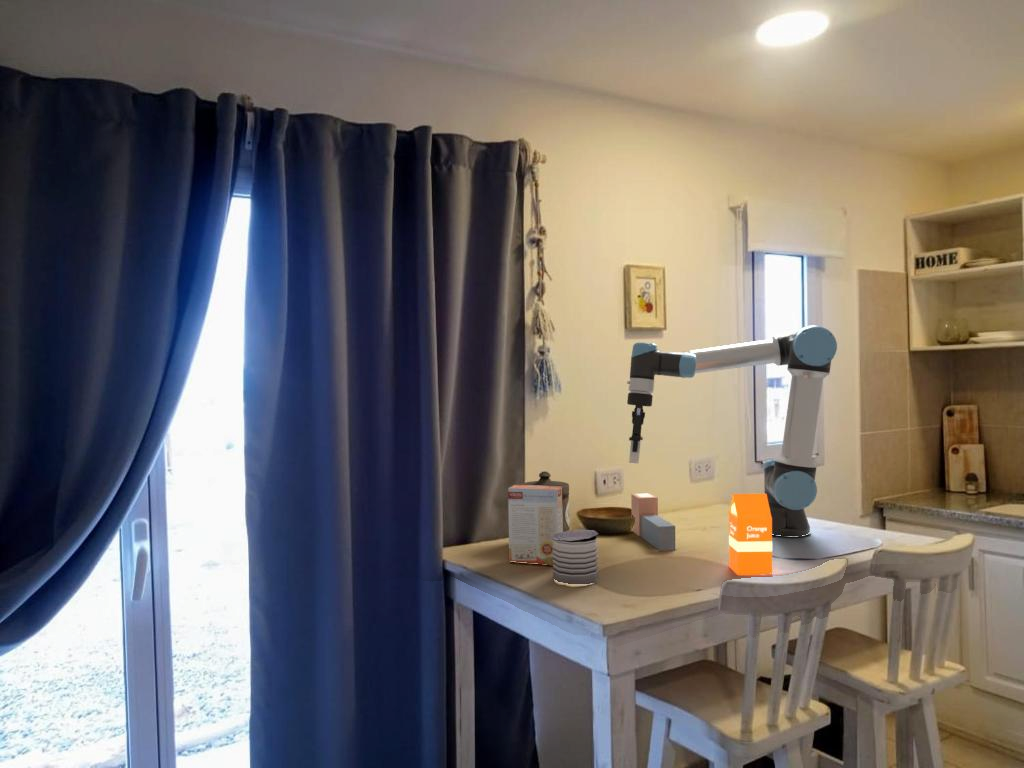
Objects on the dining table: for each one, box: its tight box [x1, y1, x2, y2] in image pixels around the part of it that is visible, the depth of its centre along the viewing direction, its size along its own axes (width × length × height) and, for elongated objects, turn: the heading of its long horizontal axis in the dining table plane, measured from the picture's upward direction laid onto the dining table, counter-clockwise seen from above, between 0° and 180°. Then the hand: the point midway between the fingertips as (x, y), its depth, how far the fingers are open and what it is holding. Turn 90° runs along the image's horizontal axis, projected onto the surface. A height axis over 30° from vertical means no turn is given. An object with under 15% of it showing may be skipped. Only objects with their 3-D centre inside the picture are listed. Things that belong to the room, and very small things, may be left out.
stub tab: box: [630, 492, 659, 538], centre depth 226 cm, size 8×6×12 cm
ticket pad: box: [640, 514, 676, 552], centre depth 214 cm, size 16×5×7 cm, turn 8°
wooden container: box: [520, 470, 571, 532], centre depth 215 cm, size 15×15×22 cm
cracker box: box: [507, 484, 563, 565], centre depth 195 cm, size 14×6×21 cm, turn 71°
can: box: [552, 529, 599, 584], centre depth 178 cm, size 11×11×12 cm
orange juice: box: [728, 493, 773, 576], centre depth 184 cm, size 8×9×20 cm
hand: (634, 461), depth 219 cm, fingers open, 13 cm apart
